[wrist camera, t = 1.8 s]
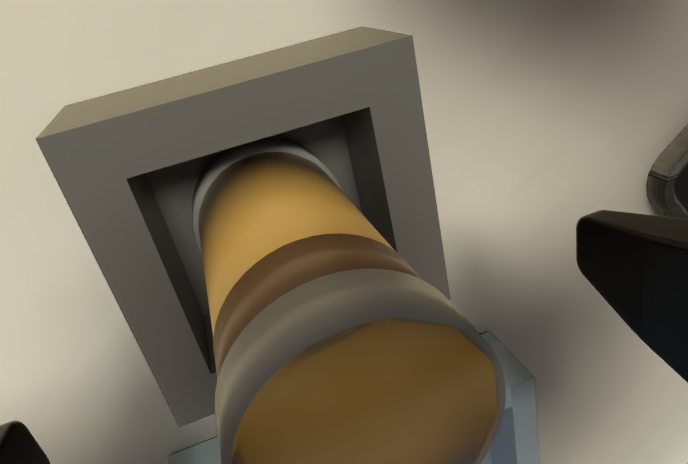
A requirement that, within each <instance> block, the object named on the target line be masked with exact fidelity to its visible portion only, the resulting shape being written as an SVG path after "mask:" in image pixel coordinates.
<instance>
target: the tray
mask: <svg viewBox="0 0 688 464" xmlns="http://www.w3.org/2000/svg"><path fill="white" fill-rule="evenodd" d="M480 335H481V336H482V337H483V338H484V339H485V340H486V341H487V343H488V344H489V345H490V346H491V347H492V349H493V351H494V352H495V354H496V356H497V357H498V359H499V362H500V365H501V367H502V370H503V374H504V379H505V385H506V401H505V408H504V414H503V418H502V422H501V425H500V428H499V431H498V433H497V436H496V438H495V440H494V442H493V444H492V446H491V448H490V450H489V452H488V453H487V455H486V457H485V458H484V460H483V461H482V462H481V464H539V447H538V430H537V414H536V397H535V380H534V376H533V375H532V374H531V373H530V372H529V371H528V370H527V369H526V368H525V367H524V366H523V365H522V364H521V363H520V362H519V361H518V360H517V359H516V358H515V356H514V355H513V354H512V353H511V352H510V351H509V350H508V349H507V348H506V347H505V346H504V345H503V344H502V343H501V342H500V341H499V340H498V339H497V338H496V337H495V336H494V335H493V333H492V332H491V331H488V332H486V333H483V334H480ZM169 464H221V458H220V449H219V440H218V437H216V438H213V439H210V440H208V441H205V442H203V443H200V444H198V445H195V446H192V447H190V448H187V449H185V450H182V451H180V452H177V453H174V454H172V455H169Z"/></svg>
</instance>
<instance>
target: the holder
mask: <svg viewBox="0 0 688 464" xmlns="http://www.w3.org/2000/svg"><path fill="white" fill-rule="evenodd" d="M266 137H279V138H285V139H288V140H291V141H294V142H296V143H298V144H300V145H302V146H304V147H305V148H307V149H309V150H310V151H311V152H312V153H313V154H315V155H316V156H317V157H318V158H319V160H320V161H321V162H322V163H323V164H324V165H325V166H326V167H327V168H328V169H329V171H330V172H331V173H332V174H333V175H334V177H335V178H336V180H337V181H338V183H339V185H340V188H341V190H342V192H343V193H344V194H345V195H346V196H347V197H348V198H349V200H350V201H351V202H352V203H353V204H354V205H355V206H356V207H357V209H358V210H359V211H360V212H361V213H362V214H363V215H364V216H365V218H366V219H367V220H368V221H369V222H370V223H371V224H372V225H373V227H374V228H375V229H376V230H377V231H378V232H379V233H380V234H381V236H382V237H383V238H384V239H385V240H386V241H387V242H388V243H389V245H390V246H391V247H392V248H393V249H394V250H395V251H396V252H397V253H398V254H399V255H400V256H402V257H403V259H404V260H405V261H406V262H407V263H408V264H409V265H410V266H411V267H412V269H413V270H414V271H415V272H416V273H417V274H418V275H419V276H420V278H421V279H422V280H423V281H425V282H427V283H429V284H430V285H432V286H434V287H435V288H436V289H437V290H439V291H440V292H441V293H442V294H444V295H445V297H446V298H447V299H448V300H449V301H450V295H449V288H448V281H447V274H446V267H445V260H444V253H443V246H442V239H441V232H440V225H439V219H438V212H437V205H436V198H435V191H434V184H433V177H432V170H431V163H430V156H429V149H428V142H427V135H426V128H425V121H424V114H423V107H422V100H421V93H420V87H419V80H418V73H417V66H416V59H415V52H414V45H413V38H412V35H407V34H401V33H395V32H390V31H384V30H378V29H373V28H367V27H359V28H355V29H351V30H348V31H344V32H340V33H336V34H333V35H329V36H325V37H321V38H318V39H314V40H310V41H307V42H303V43H299V44H295V45H292V46H288V47H284V48H280V49H277V50H273V51H269V52H265V53H262V54H258V55H254V56H250V57H247V58H243V59H239V60H235V61H232V62H228V63H224V64H220V65H217V66H213V67H209V68H206V69H202V70H198V71H194V72H191V73H187V74H183V75H179V76H176V77H172V78H168V79H164V80H161V81H157V82H153V83H149V84H146V85H142V86H138V87H134V88H131V89H127V90H123V91H120V92H116V93H112V94H108V95H105V96H101V97H97V98H93V99H90V100H86V101H82V102H78V103H75V104H71V105H67V106H65V107H64V108H63V109H62V110H61V111H60V112H59V113H58V114H57V116H56V117H55V118H54V119H53V120H52V121H51V122H50V123H49V125H48V126H47V127H46V128H45V129H44V130H43V131H42V132H41V133H40V135H39V136H38V137H37V138H36V141H37V143H38V145H39V147H40V149H41V151H42V153H43V155H44V157H45V159H46V161H47V163H48V165H49V167H50V169H51V171H52V173H53V175H54V177H55V179H56V181H57V183H58V185H59V187H60V189H61V191H62V193H63V195H64V197H65V199H66V201H67V203H68V205H69V207H70V209H71V211H72V213H73V215H74V217H75V219H76V221H77V223H78V225H79V227H80V229H81V231H82V233H83V235H84V237H85V239H86V241H87V243H88V245H89V247H90V249H91V251H92V253H93V255H94V257H95V259H96V261H97V263H98V265H99V267H100V269H101V271H102V273H103V275H104V277H105V279H106V281H107V283H108V285H109V287H110V289H111V291H112V293H113V295H114V297H115V299H116V301H117V303H118V305H119V307H120V309H121V311H122V313H123V315H124V317H125V319H126V321H127V323H128V325H129V327H130V329H131V331H132V333H133V335H134V337H135V339H136V341H137V343H138V345H139V347H140V349H141V351H142V353H143V355H144V357H145V359H146V361H147V363H148V365H149V367H150V369H151V371H152V373H153V375H154V377H155V379H156V381H157V383H158V385H159V387H160V389H161V391H162V393H163V395H164V397H165V399H166V401H167V403H168V405H169V407H170V409H171V411H172V413H173V415H174V417H175V419H176V421H177V423H178V425H179V427H181V426H183V425H186V424H189V423H191V422H194V421H196V420H199V419H202V418H204V417H207V416H210V415H212V414H215V391H216V385H217V372H216V365H215V357H214V350H213V332H212V325H211V317H210V310H209V303H208V295H207V288H206V281H205V273H204V266H203V259H202V254H201V252H200V250H199V248H198V245H197V242H196V239H195V233H194V226H193V218H192V198H193V192H194V189H195V185H196V183H197V181H198V178H199V176H200V174H201V173H202V171H203V170H204V168H205V167H206V166H207V164H208V163H209V162H210V161H211V160H212V159H213V158H214V157H215V156H216V155H217V154H218V153H220V152H221V151H223V150H225V149H229V148H232V147H235V146H239V145H242V144H246V143H249V142H252V141H256V140H259V139H263V138H266Z"/></svg>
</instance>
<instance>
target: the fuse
mask: <svg viewBox="0 0 688 464" xmlns="http://www.w3.org/2000/svg"><path fill="white" fill-rule="evenodd" d="M192 218H193V226H194V233H195V239H196V242H197V245H198V248H199V250H200V252H201V254H202V259H203V266H204V273H205V281H206V288H207V295H208V303H209V310H210V317H211V325H212V332H213V350H214V357H215V365H216V372H217V385H216V391H215V415H216V423H217V432H218V440H219V449H220V458H221V464H481V462H482V461H483V460H484V458H485V457H486V455H487V453H488V452H489V450H490V448H491V446H492V444H493V442H494V440H495V438H496V436H497V433H498V431H499V428H500V425H501V422H502V418H503V414H504V408H505V401H506V385H505V379H504V374H503V370H502V367H501V365H500V362H499V359H498V357H497V356H496V354H495V352H494V351H493V349H492V347H491V346H490V345H489V344H488V343H487V341H486V340H485V339H484V338H483V337H482V336H481V335H480V334H479V332H478V331H477V330H476V329H475V328H474V327H473V326H472V325H471V324H470V323H469V322H468V321H467V319H466V318H465V317H464V316H463V315H462V314H461V313H460V312H459V311H458V310H457V309H456V307H455V306H454V305H453V304H452V303H451V302H450V301H449V300H448V299H447V298H446V297H445V295H444V294H442V293H441V292H440V291H439V290H437V289H436V288H435V287H434V286H432V285H430V284H429V283H427V282H425V281H423V280H422V279H421V278H420V276H419V275H418V274H417V273H416V272H415V271H414V270H413V269H412V267H411V266H410V265H409V264H408V263H407V262H406V261H405V260H404V259H403V257H402V256H400V255H399V254H398V253H397V252H396V251H395V250H394V249H393V248H392V247H391V246H390V245H389V243H388V242H387V241H386V240H385V239H384V238H383V237H382V236H381V234H380V233H379V232H378V231H377V230H376V229H375V228H374V227H373V225H372V224H371V223H370V222H369V221H368V220H367V219H366V218H365V216H364V215H363V214H362V213H361V212H360V211H359V210H358V209H357V207H356V206H355V205H354V204H353V203H352V202H351V201H350V200H349V198H348V197H347V196H346V195H345V194H344V193H343V192H342V190H341V188H340V185H339V183H338V181H337V180H336V178H335V177H334V175H333V174H332V173H331V172H330V171H329V169H328V168H327V167H326V166H325V165H324V164H323V163H322V162H321V161H320V160H319V158H318V157H317V156H316V155H315V154H313V153H312V152H311V151H310V150H309V149H307V148H305V147H304V146H302V145H300V144H298V143H296V142H294V141H291V140H288V139H285V138H279V137H266V138H263V139H259V140H256V141H252V142H249V143H246V144H242V145H239V146H235V147H232V148H229V149H225V150H223V151H221V152H220V153H218V154H217V155H216V156H215V157H214V158H213V159H212V160H211V161H210V162H209V163H208V164H207V166H206V167H205V168H204V170H203V171H202V173H201V174H200V176H199V178H198V181H197V183H196V185H195V189H194V192H193V198H192Z"/></svg>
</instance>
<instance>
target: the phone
mask: <svg viewBox="0 0 688 464" xmlns="http://www.w3.org/2000/svg"><path fill="white" fill-rule="evenodd" d="M646 190H647V196H648V198H649V200H650V202H651V203H652V204H653V205H654V207H655V208H656V209H657V210H658V211H659V213H660V214H661V215H662V216H663V217H671V218H680V219H688V124H687V125H686V127H685V128H684V129H683V130H682V131H681V132H680V133H679V134H678V135H677V137H676V138H675V139H674V140H673V141H672V142H671V143H670V144H669V145H668V147H667V148H666V149H665V150H664V151H663V152H662V153H661V154H660V156H659V157H658V158H657V160H656V161H655V162H654V164H653V165H652V168H651V170H650V172H649V174H648V178H647V184H646ZM664 214H666V215H664Z"/></svg>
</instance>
